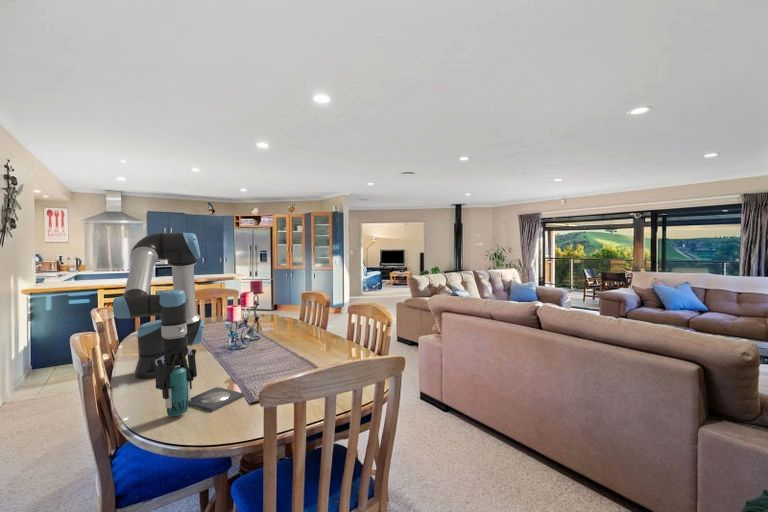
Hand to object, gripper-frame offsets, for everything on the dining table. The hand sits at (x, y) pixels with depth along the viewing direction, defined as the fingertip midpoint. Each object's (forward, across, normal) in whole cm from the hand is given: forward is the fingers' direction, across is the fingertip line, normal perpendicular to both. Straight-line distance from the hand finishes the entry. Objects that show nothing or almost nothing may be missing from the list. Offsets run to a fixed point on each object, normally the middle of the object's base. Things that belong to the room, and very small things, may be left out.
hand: (178, 403), depth 126 cm
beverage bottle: (+5, 0, 0) cm, 5 cm away
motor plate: (+4, +14, -1) cm, 15 cm away
